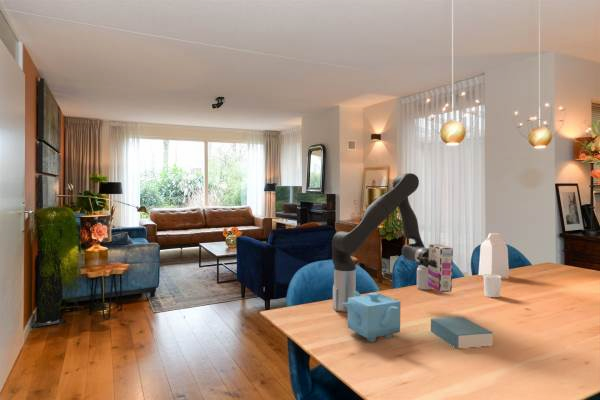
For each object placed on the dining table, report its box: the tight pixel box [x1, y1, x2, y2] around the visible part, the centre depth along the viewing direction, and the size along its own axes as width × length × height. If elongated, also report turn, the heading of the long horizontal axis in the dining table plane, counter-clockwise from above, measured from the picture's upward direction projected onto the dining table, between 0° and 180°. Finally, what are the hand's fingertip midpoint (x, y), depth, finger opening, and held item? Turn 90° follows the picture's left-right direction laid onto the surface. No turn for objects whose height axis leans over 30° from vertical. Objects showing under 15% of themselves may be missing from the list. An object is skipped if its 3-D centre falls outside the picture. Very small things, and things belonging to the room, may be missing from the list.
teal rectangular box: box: [430, 316, 494, 349], centre depth 135 cm, size 13×16×5 cm
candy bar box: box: [428, 243, 454, 293], centre depth 149 cm, size 11×5×16 cm, turn 5°
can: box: [416, 264, 433, 291], centre depth 203 cm, size 8×8×12 cm
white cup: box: [482, 274, 502, 299], centre depth 190 cm, size 8×8×10 cm
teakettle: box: [341, 290, 401, 343], centre depth 137 cm, size 19×19×15 cm
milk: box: [478, 232, 510, 277], centre depth 234 cm, size 12×12×26 cm
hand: (442, 265), depth 146 cm, fingers closed on candy bar box, 5 cm apart
